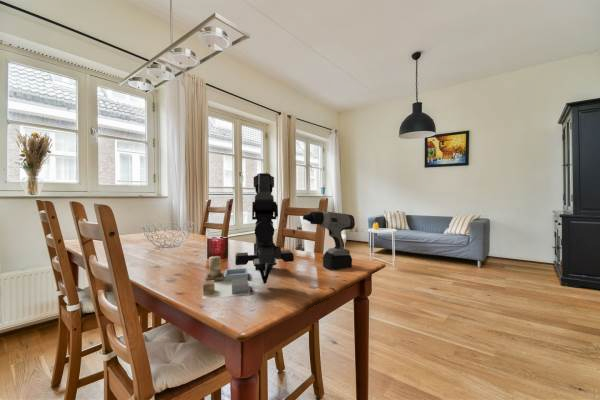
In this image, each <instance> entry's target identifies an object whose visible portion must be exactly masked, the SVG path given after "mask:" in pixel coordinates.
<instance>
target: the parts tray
mask: <svg viewBox="0 0 600 400" xmlns="http://www.w3.org/2000/svg"><path fill="white" fill-rule="evenodd" d="M224 274H225V281H232V279H244V278H247V279H248V280H249V274H248V268H247V267H245V268H244V267H243V268H231V269H230V268H229V269H225V271H224Z"/></svg>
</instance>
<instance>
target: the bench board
mask: <svg viewBox="0 0 600 400" xmlns="http://www.w3.org/2000/svg"><path fill="white" fill-rule="evenodd" d="M249 295H251V291H250V285H249V282H248V293H241V294H232V281H225V273H224V281H219V282H214V294H211V295H202V298H201V299H202V300H206V299H216V298H225V297H226V298H229V297H237V296H249Z"/></svg>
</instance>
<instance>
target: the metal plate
mask: <svg viewBox="0 0 600 400" xmlns="http://www.w3.org/2000/svg"><path fill="white" fill-rule="evenodd" d="M248 283H249V278H248V279H247V278H244V279H232V294H241V293H248Z"/></svg>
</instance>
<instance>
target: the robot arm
mask: <svg viewBox="0 0 600 400" xmlns="http://www.w3.org/2000/svg"><path fill="white" fill-rule="evenodd" d="M253 188H254V189H255V193H256V194H255V195H254V201H252V205H251V206H252V208H251V211H252V212H251V213H252V214H251V220H252V221H253V220H256V221H255V228H254V235H255V242H254V243H253V254H248V252H236V253H235V266H245V265H247V264H248V263H249V262H252V264H253V267H255V268H254V270H255V271H259V273H260V276H261V279H262V283H263V284H267V283H268V282H267V281H268V278H269V276H270V273H271V271H272V270H273V267H274V266H277V262H276V261H277V260H282V261H283V262H284V263H290V262H295V256H294V255H295V254H294V253H293V252H292V251H291V250H288V249H285V250H282V248H281V246H279V245H278V246H277V245H276V243H275V242H274V235H275V227H274V222H273V220H277V217H279V210H278V209H279V207H278V206H279V205H278V204H277V201H275V200H274V195H273V194H272V193H273V188H275V176H272V175H271V174H270V172H269V173H268V172H267V173H266V172H265V173H264V172H263V173H261V172H259V173H257V174H256V175H255V176H253Z"/></svg>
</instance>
